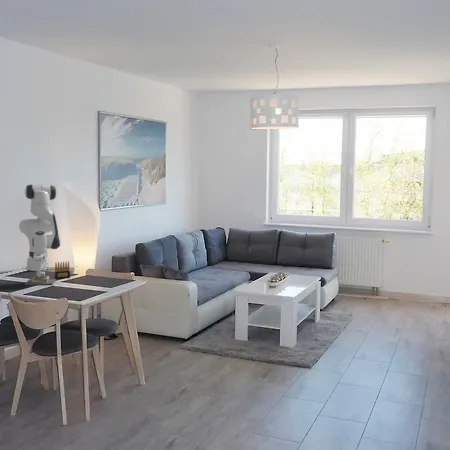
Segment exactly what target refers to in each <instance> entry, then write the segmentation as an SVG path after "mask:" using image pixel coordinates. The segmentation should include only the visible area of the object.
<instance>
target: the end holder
mask: <svg viewBox="0 0 450 450" xmlns="http://www.w3.org/2000/svg"><path fill="white" fill-rule="evenodd" d="M50 277H51V276H50V275H45V278H36V275H35V276H33V278H29V279H28V280H27V281H26V282H25V283H24V286H52V285H53V284H54V283H56V281H57V279H55V278H50Z"/></svg>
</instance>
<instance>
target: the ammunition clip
mask: <svg viewBox="0 0 450 450" xmlns="http://www.w3.org/2000/svg"><path fill="white" fill-rule="evenodd" d="M54 264H55V265H54V279H56V280H58V279H59V280H60V279H70V278H71V268H70V267H71V266H70V261H69V260H68V261H65V262H64V261H63V262H62V261H61V262H59V261H58V263H57V262H55V263H54Z"/></svg>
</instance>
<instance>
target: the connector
mask: <svg viewBox="0 0 450 450" xmlns="http://www.w3.org/2000/svg"><path fill="white" fill-rule="evenodd" d="M35 276H36V278H45V276H46V272H45V271H44V272H41V276H40V277H38V274H37V272H36V274H35Z"/></svg>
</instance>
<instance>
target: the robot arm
mask: <svg viewBox="0 0 450 450" xmlns="http://www.w3.org/2000/svg"><path fill="white" fill-rule="evenodd" d="M57 194H58V192H57V189H56V187H55V186H54V185H51V184H50V185H48V184H27V185H26V187H25V189H24V195H25V198H26V199H28V200H29V199H30V213H31V215H33V216H34V217H37V218H27V219H22V220H21V221H20V222H19V224H18V229H19V231H20V232H21V233H23V234H24V236H26V238H27V240H28V245H29V251H28V252H29V253H28V255H29V256H28V257H27V259H26V267H24V270H27V271H33V272H34V271H35V272H36V273H37V274H38V277H40V276H41V272H45V271H47V269H48V270H50V269H51V265H50V264H49V262H48V249H49V250H58V248H60V246H61V243H62V242H61V238H60V235H59V230H58V224H57V219H56V215H55V213H54V212H52V210H51V200H53V201H54V199H56V197H57ZM50 232H52V234H47V233H50ZM47 267H49V268H50V269H49V268H47Z"/></svg>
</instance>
